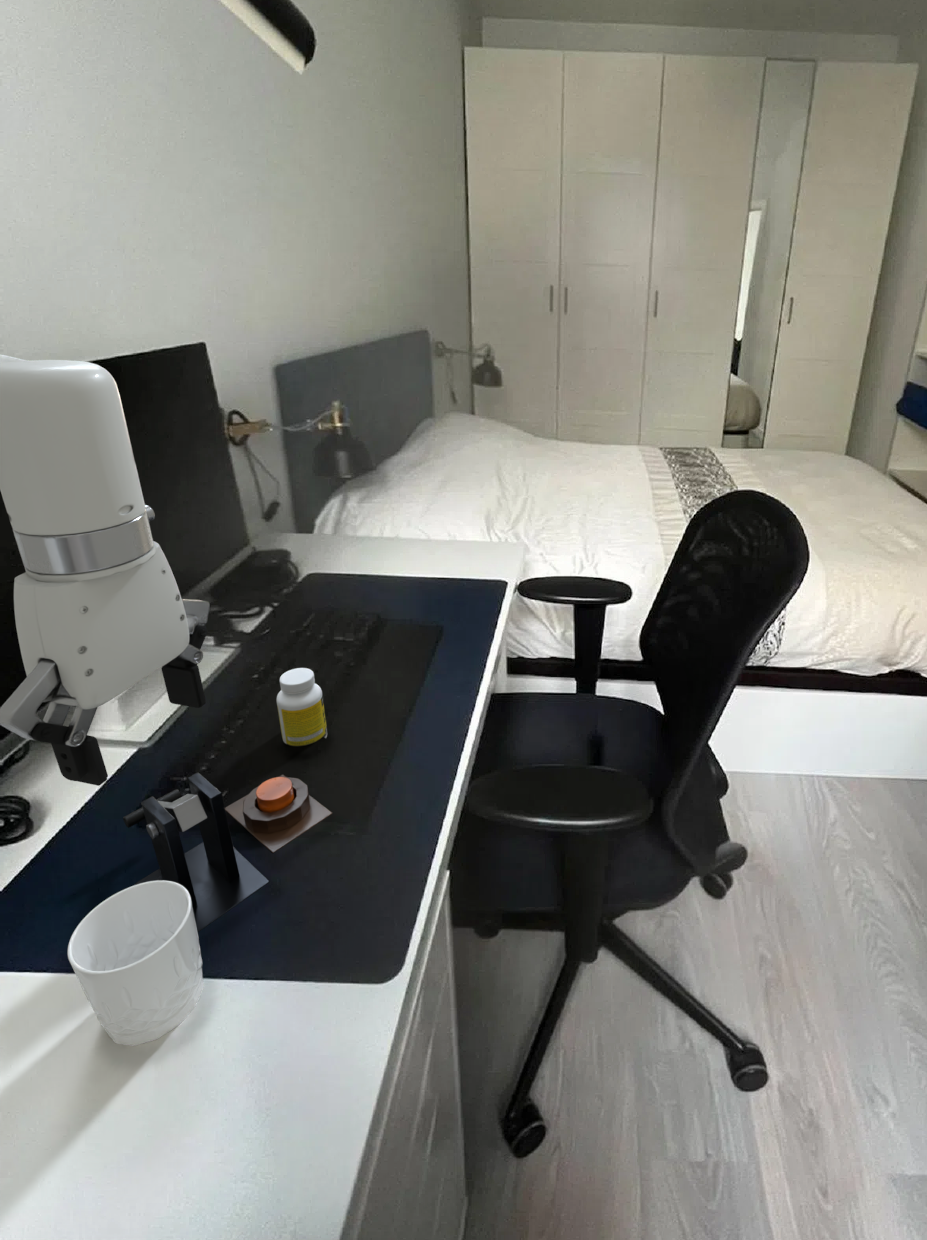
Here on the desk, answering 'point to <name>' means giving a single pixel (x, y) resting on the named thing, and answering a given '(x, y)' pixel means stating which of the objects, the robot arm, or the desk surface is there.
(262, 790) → the button
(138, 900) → the white cup
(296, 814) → the button box
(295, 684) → the supplement bottle
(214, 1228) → the desk surface
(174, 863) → the bracket
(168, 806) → the lever
